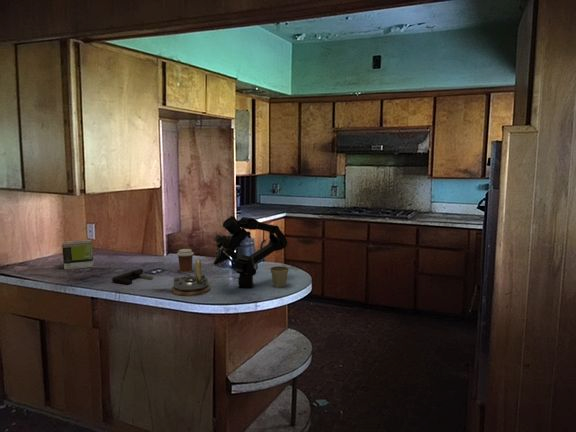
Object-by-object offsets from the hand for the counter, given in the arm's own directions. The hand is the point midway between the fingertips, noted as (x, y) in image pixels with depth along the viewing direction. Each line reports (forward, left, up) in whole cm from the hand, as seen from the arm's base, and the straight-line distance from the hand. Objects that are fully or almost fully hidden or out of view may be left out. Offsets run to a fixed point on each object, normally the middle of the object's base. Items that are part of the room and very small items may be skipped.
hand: (214, 264), depth 220 cm
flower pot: (-29, -12, -13) cm, 34 cm away
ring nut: (+12, 0, -11) cm, 16 cm away
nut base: (+12, 0, -13) cm, 18 cm away
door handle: (+47, -15, -14) cm, 51 cm away
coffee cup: (+26, -33, -13) cm, 44 cm away
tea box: (+91, -37, -13) cm, 99 cm away
